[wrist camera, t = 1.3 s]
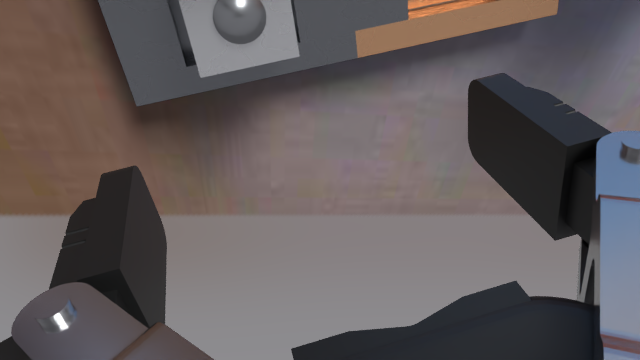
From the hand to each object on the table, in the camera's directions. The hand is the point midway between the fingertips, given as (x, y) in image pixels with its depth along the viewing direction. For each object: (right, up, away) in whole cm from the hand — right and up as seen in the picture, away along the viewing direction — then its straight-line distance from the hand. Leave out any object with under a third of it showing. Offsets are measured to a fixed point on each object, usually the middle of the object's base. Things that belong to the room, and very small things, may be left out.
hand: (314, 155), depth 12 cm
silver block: (-5, +9, +14) cm, 17 cm away
